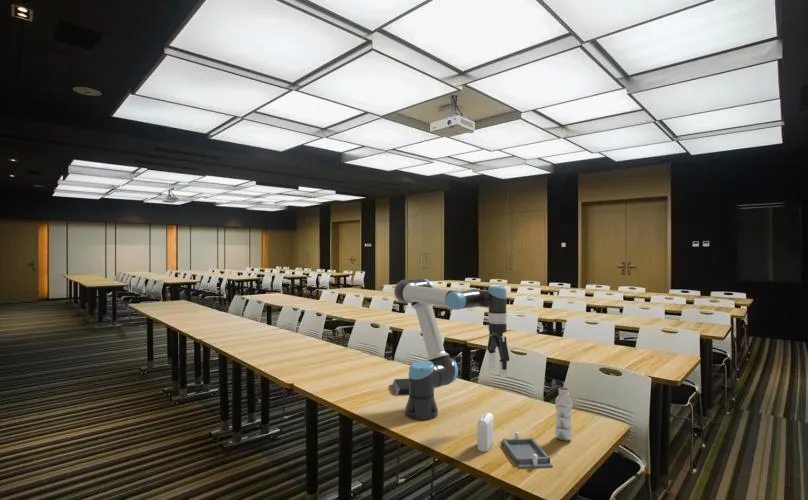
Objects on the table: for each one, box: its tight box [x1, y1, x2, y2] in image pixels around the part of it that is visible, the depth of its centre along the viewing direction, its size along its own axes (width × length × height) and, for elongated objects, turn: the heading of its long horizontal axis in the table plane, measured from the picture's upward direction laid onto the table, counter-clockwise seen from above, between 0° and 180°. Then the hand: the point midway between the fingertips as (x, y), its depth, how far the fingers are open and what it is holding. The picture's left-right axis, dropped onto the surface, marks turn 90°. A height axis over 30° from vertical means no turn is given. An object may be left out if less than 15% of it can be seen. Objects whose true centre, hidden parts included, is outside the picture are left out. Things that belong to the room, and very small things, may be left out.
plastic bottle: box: [554, 387, 574, 441], centre depth 165 cm, size 6×7×20 cm
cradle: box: [500, 431, 553, 469], centre depth 152 cm, size 12×20×4 cm, turn 4°
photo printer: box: [476, 411, 495, 453], centre depth 158 cm, size 10×4×12 cm, turn 152°
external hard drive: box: [391, 378, 409, 396], centre depth 226 cm, size 13×19×4 cm
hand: (497, 372), depth 175 cm, fingers open, 13 cm apart
